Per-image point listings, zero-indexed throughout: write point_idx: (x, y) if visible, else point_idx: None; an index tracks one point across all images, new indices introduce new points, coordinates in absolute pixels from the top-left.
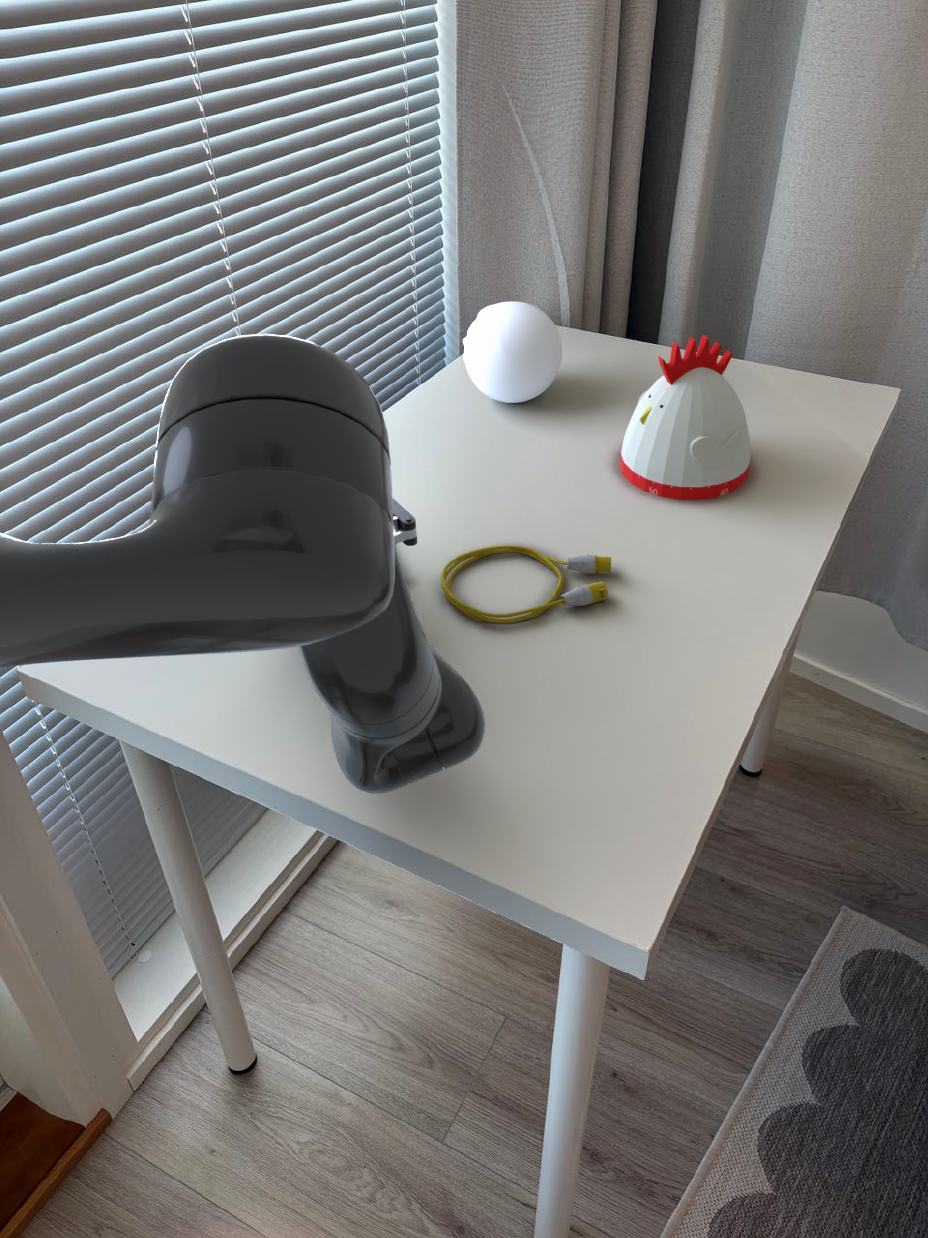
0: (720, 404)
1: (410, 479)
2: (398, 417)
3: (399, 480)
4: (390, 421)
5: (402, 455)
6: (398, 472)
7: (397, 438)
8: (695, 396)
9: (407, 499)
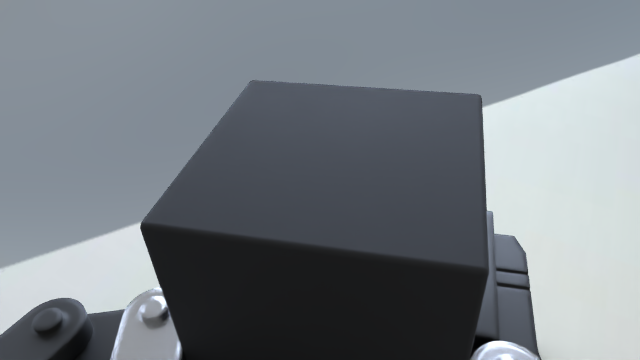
0: None
1: (634, 214)
2: (614, 76)
3: (604, 208)
4: (597, 79)
5: (617, 149)
6: (603, 186)
7: (608, 112)
8: None
9: (622, 273)
